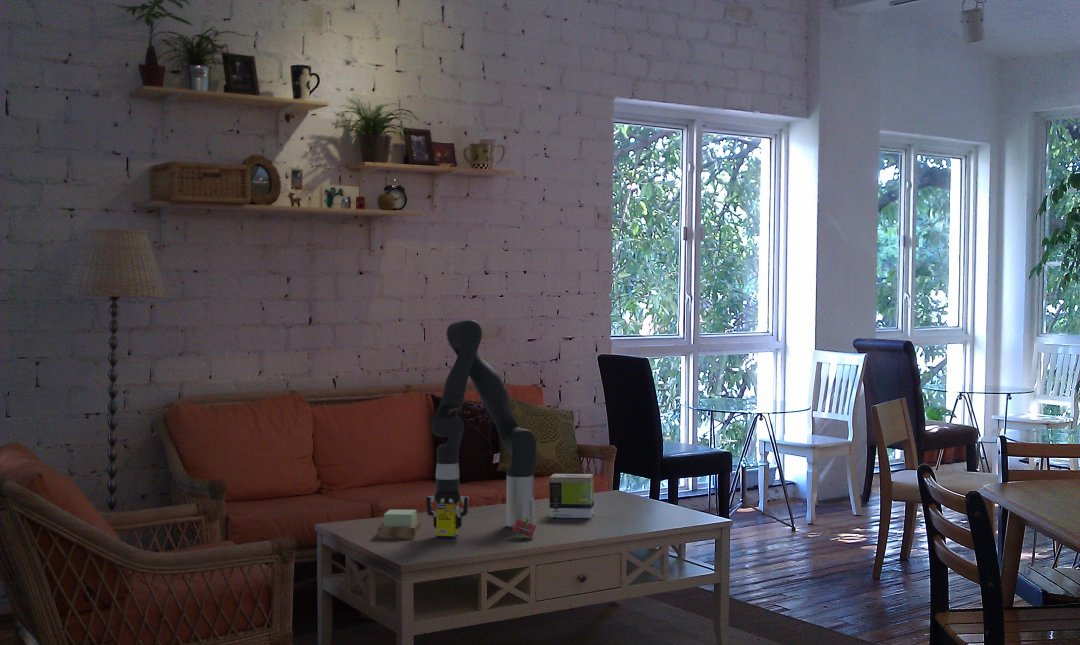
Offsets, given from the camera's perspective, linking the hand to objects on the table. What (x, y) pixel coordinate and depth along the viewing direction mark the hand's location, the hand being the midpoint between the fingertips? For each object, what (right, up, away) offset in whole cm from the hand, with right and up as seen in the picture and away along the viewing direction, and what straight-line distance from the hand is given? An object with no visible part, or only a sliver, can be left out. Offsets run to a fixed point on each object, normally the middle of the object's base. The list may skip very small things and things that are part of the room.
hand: (447, 528), depth 350 cm
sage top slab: (-16, +1, +3) cm, 16 cm away
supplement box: (0, -3, 0) cm, 3 cm away
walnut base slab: (-16, -3, +3) cm, 17 cm away
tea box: (+41, -3, +38) cm, 56 cm away
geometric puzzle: (+25, -3, -2) cm, 25 cm away
